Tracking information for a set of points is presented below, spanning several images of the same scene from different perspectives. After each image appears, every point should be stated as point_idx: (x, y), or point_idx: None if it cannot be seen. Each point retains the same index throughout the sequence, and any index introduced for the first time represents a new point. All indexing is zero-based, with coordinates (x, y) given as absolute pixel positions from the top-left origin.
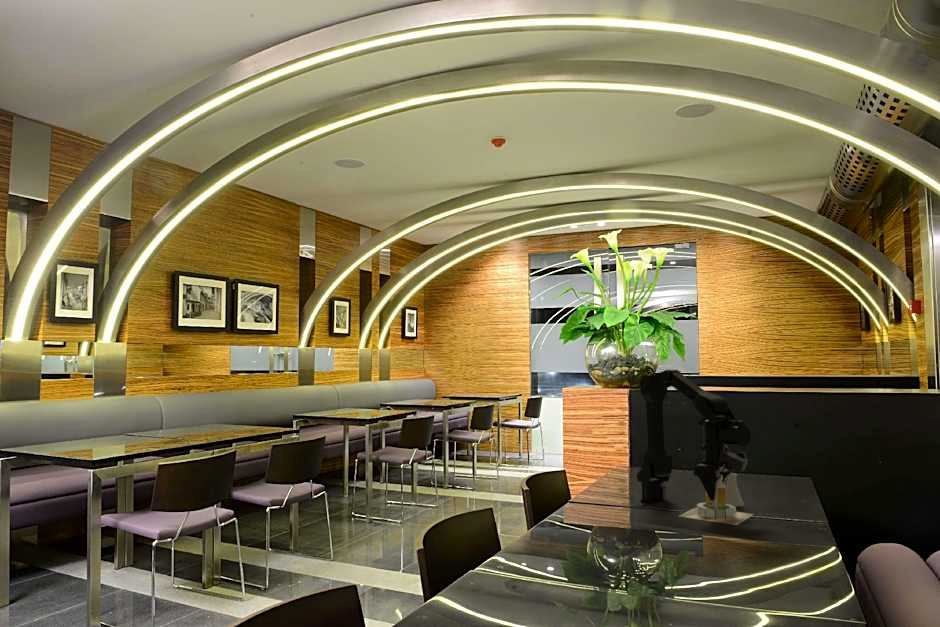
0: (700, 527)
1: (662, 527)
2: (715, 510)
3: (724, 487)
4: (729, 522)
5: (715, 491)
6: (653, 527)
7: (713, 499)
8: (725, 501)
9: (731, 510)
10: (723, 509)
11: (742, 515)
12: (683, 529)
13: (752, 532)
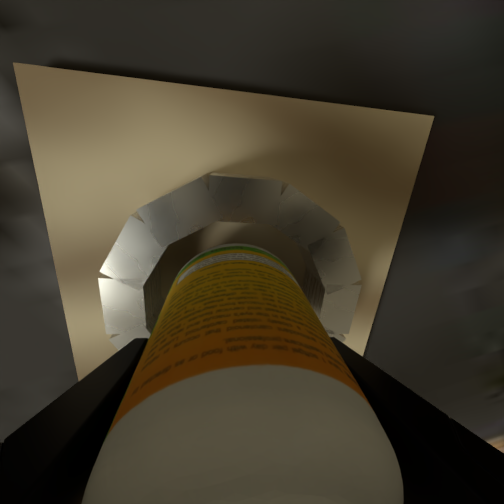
0: (440, 281)
1: (479, 378)
2: (350, 280)
3: (289, 369)
4: (385, 174)
5: (387, 391)
6: (486, 396)
7: (338, 343)
8: (240, 265)
9: (297, 190)
10: (324, 241)
11: (135, 142)
12: (492, 320)
13: (474, 12)
